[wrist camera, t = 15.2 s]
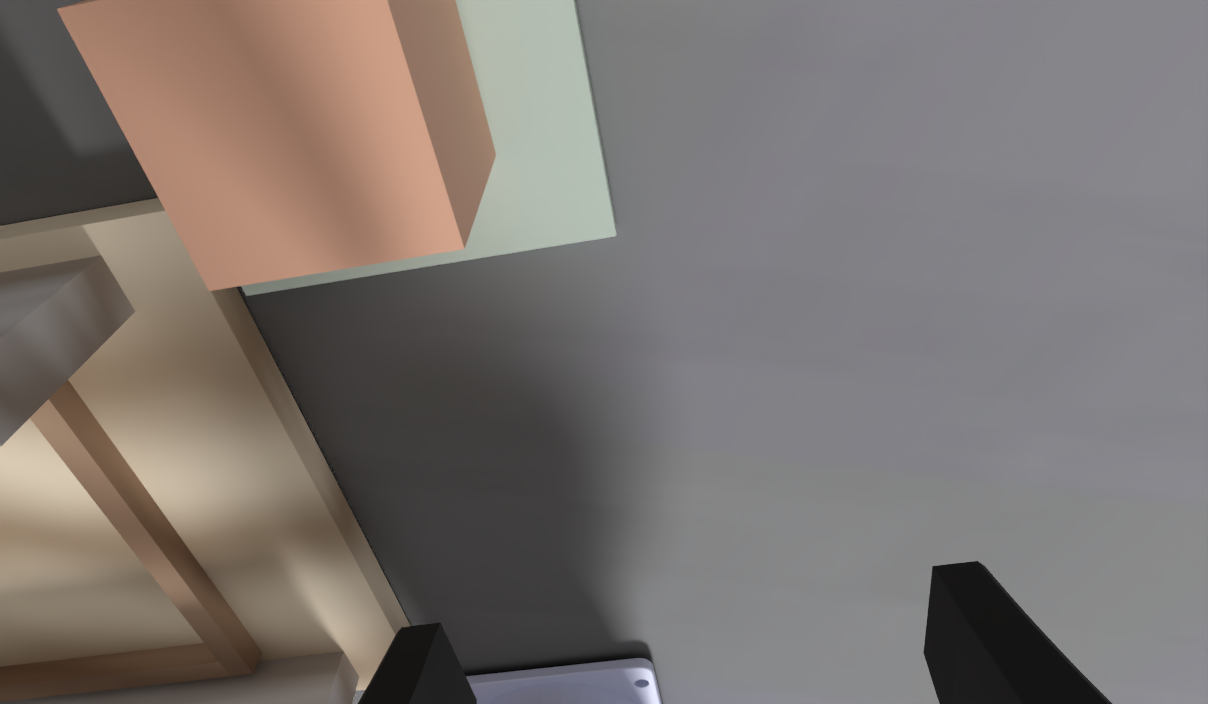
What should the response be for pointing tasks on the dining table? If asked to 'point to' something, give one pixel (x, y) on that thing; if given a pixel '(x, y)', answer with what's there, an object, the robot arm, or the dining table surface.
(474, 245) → the sage pad
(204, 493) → the beige wooden low frame
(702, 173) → the dining table surface
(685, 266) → the dining table surface
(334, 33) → the terracotta block
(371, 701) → the robot arm
